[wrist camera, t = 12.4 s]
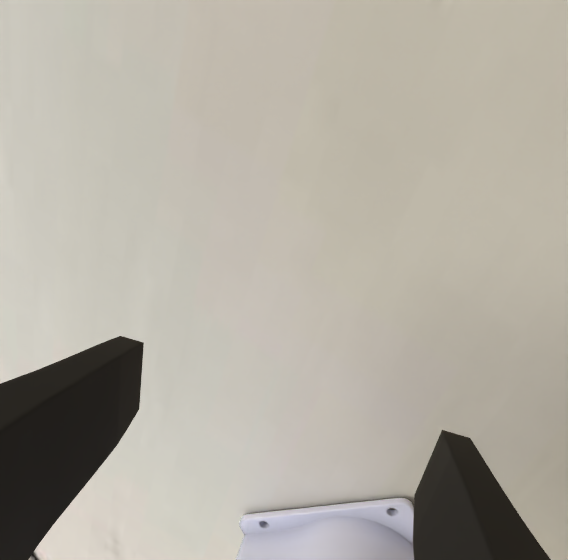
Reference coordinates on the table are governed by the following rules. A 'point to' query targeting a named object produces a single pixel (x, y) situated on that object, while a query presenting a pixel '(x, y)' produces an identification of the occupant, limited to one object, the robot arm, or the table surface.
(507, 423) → the table surface
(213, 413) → the table surface
